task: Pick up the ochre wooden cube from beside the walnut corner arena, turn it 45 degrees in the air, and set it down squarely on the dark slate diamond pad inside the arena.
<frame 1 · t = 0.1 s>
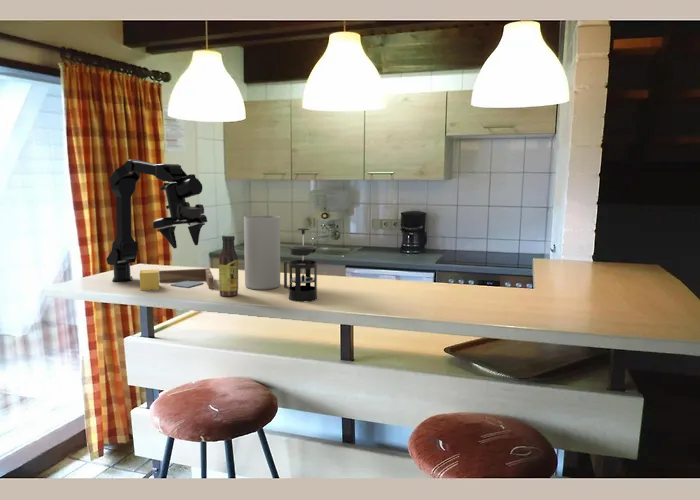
hand: (186, 246, 172), 15 cm above the table, tool pointing down, fingers open, 9 cm apart
french press: (301, 298, 168), on the table
sauce bottle: (229, 295, 171), on the table
ochre cube: (150, 288, 179), on the table
corner arena: (185, 284, 186), on the table
cylinder vase: (262, 286, 185), on the table
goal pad: (187, 284, 185), on the table
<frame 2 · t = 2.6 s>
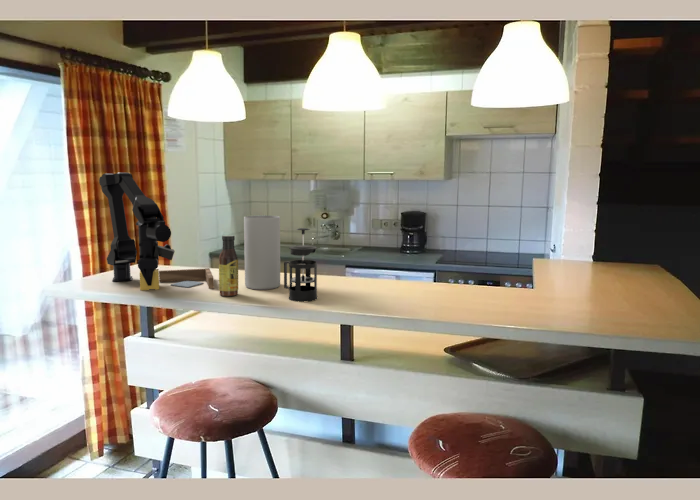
hand: (149, 283, 179), 2 cm above the table, tool pointing down, fingers closed on ochre cube, 6 cm apart
ochre cube: (149, 287, 179), on the table, touching gripper
everything else where it was.
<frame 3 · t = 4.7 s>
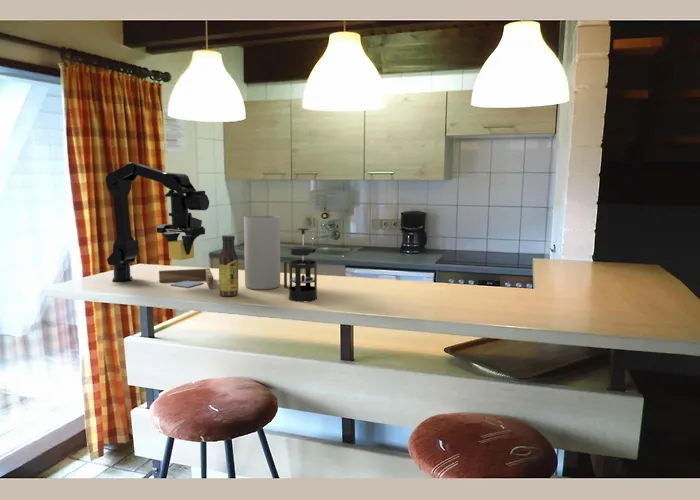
hand: (181, 253, 183), 11 cm above the table, tool pointing down, fingers closed on ochre cube, 6 cm apart
ochre cube: (181, 258, 183), point 10 cm above the table, touching gripper
everything else where it was.
when the fingers open (3 cm above the table, at t = 6.8 s): ochre cube drops 1 cm, resting on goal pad.
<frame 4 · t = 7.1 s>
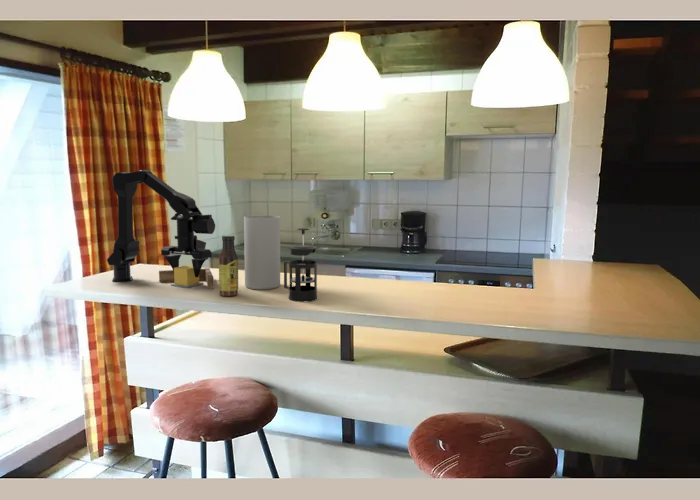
hand: (186, 275, 185), 3 cm above the table, tool pointing down, fingers open, 9 cm apart
ochre cube: (187, 283, 185), resting on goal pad
everything else where it was.
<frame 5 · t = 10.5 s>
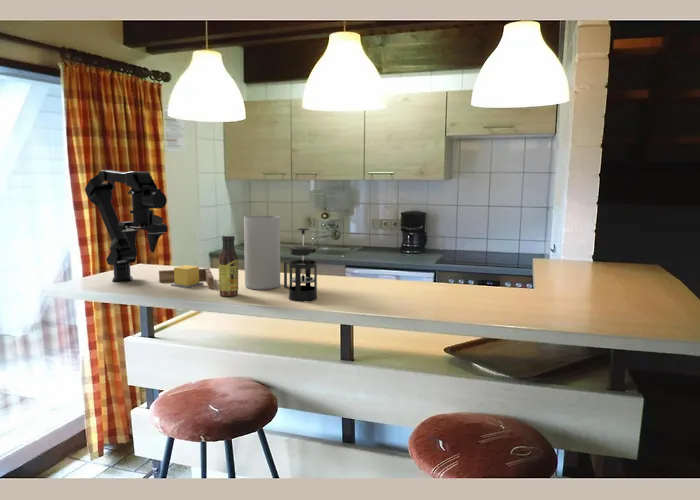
hand: (143, 251, 183), 12 cm above the table, tool pointing down, fingers open, 9 cm apart
nothing on the table moved.
at the end: ochre cube 0.1 cm off-centre on the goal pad, point 0.4 cm above the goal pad's base; ochre cube tilted 0°; the gripper is holding nothing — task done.
